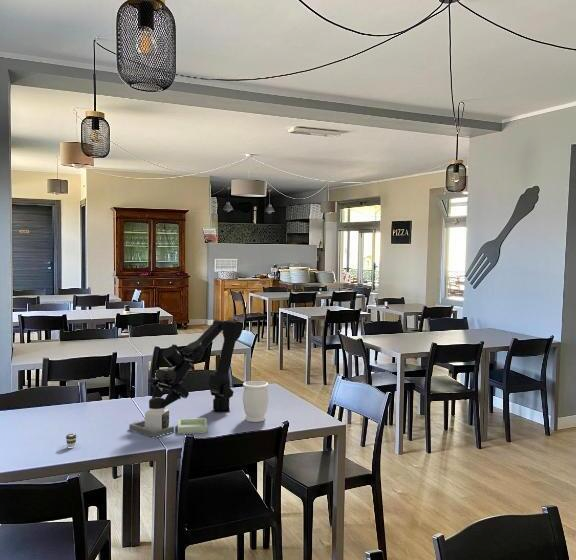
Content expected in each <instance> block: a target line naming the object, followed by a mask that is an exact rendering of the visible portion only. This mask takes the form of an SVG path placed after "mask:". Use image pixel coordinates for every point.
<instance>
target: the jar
mask: <svg viewBox="0 0 576 560" xmlns="http://www.w3.org/2000/svg"><path fill="white" fill-rule="evenodd" d="M242 387H243V393H242V402H243V410H244V414H245V415H246V416H245V418H244V420H245V421H247V422H250V423H259V422H263V421H266V418H267V417H266V416H265V415H266V414H267V411H268V404H269V390H268V387H269V382H266V381H262V380H248V381H245V382H243V383H242Z"/></svg>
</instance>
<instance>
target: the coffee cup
mask: <svg viewBox="0 0 576 560" xmlns="http://www.w3.org/2000/svg"><path fill="white" fill-rule="evenodd" d="M65 439H66V440H65V441H66V446H68V447H73V446H75V447H76V442H77V434H76V433H68V434H66V436H65Z"/></svg>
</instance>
